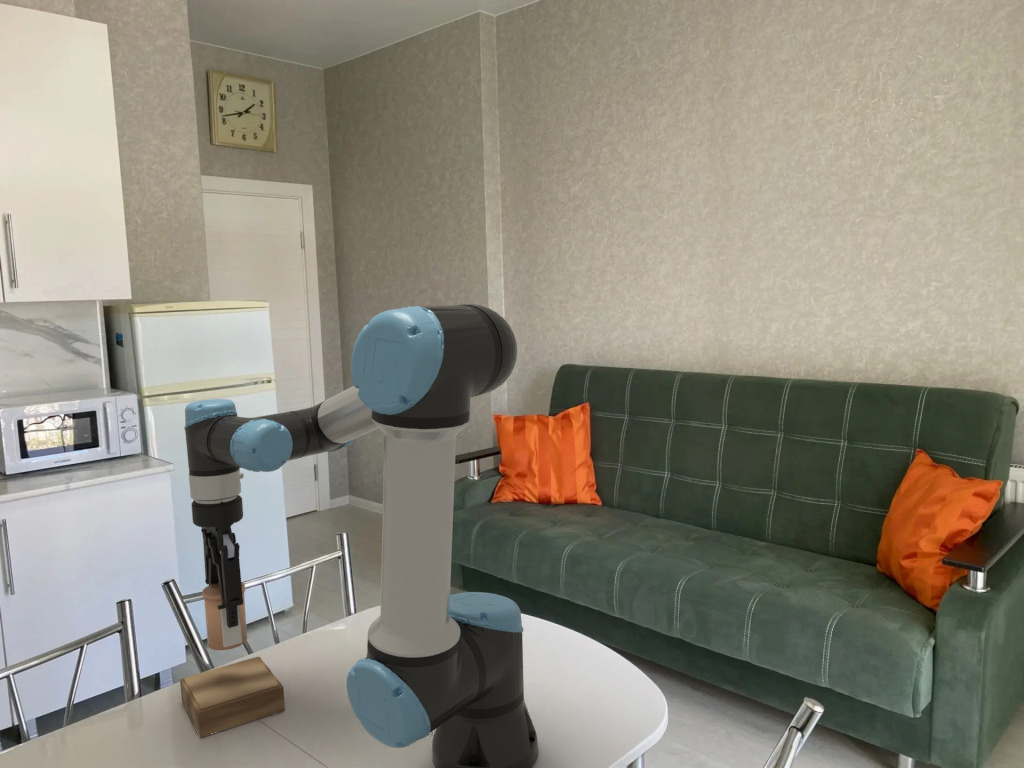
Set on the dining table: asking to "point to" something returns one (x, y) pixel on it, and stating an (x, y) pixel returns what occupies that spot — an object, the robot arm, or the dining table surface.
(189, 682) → the stand
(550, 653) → the dining table surface
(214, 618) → the canister
